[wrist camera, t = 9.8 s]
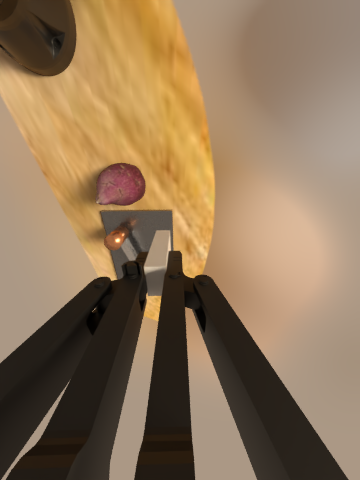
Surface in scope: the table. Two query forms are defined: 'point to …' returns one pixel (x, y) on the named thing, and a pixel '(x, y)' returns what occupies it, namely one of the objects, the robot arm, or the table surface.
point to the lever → (120, 242)
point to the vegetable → (120, 185)
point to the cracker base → (136, 230)
